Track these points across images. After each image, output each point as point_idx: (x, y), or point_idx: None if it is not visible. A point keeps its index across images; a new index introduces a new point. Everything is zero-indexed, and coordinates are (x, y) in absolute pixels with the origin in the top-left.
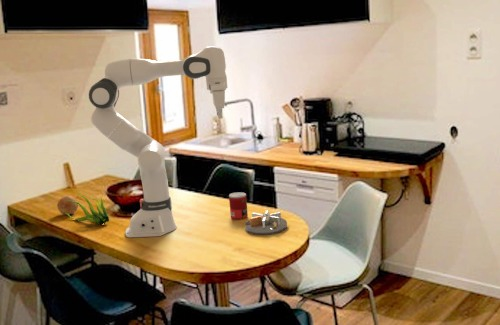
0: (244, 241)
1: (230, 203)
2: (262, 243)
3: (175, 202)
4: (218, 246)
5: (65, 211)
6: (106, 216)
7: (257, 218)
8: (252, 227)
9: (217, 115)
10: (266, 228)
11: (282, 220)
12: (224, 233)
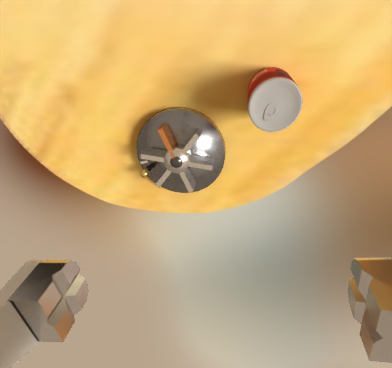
0: (107, 105)
1: (262, 77)
2: (98, 139)
3: None
4: (78, 48)
5: None
6: None
7: (165, 143)
8: (156, 126)
9: (354, 260)
10: None
11: None
12: (156, 56)
